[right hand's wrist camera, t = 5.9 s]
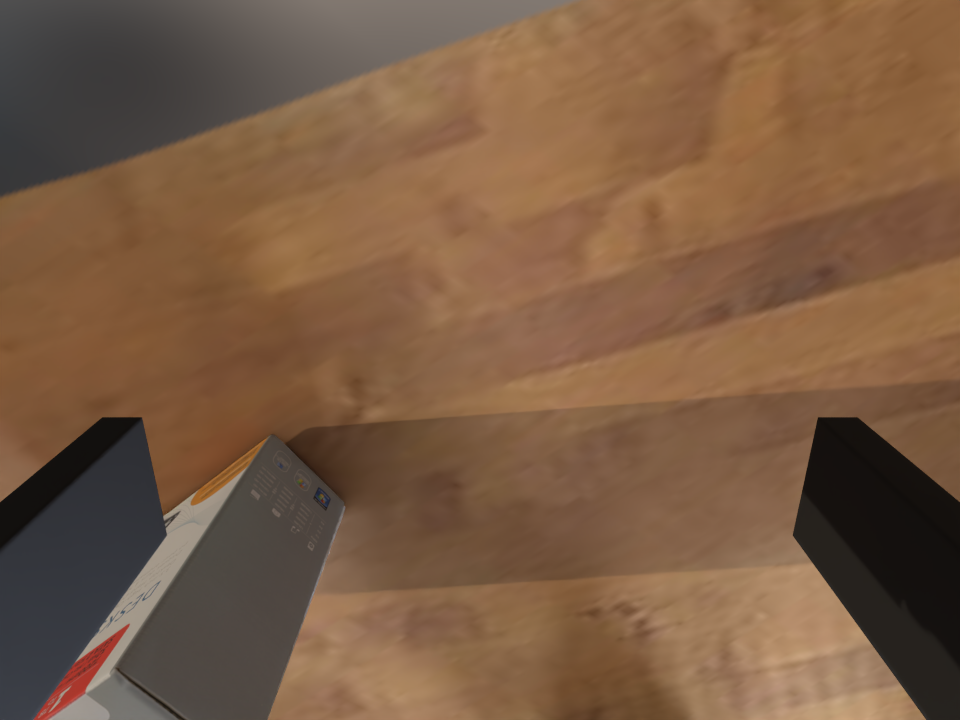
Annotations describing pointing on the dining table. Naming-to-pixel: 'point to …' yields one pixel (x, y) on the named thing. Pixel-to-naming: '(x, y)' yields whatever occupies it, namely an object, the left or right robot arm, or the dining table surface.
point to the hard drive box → (212, 601)
